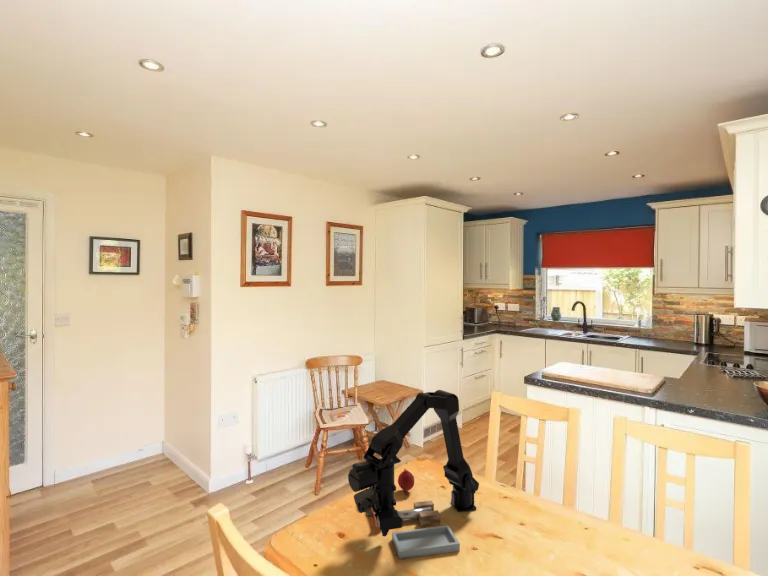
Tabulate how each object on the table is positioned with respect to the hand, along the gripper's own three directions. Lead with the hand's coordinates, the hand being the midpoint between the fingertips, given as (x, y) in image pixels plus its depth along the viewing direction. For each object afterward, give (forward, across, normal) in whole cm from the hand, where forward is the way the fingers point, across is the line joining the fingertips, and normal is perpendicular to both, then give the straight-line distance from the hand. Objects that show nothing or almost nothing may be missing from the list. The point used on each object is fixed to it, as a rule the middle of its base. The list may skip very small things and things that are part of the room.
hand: (384, 535), depth 114 cm
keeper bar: (+2, -14, 0) cm, 14 cm away
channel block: (+2, -9, +16) cm, 18 cm away
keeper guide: (+2, -18, 0) cm, 18 cm away
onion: (+2, -26, +14) cm, 29 cm away
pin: (+2, -9, +12) cm, 15 cm away
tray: (+2, +4, +11) cm, 12 cm away
